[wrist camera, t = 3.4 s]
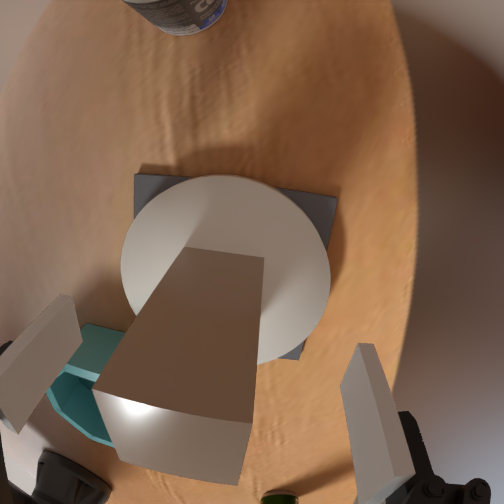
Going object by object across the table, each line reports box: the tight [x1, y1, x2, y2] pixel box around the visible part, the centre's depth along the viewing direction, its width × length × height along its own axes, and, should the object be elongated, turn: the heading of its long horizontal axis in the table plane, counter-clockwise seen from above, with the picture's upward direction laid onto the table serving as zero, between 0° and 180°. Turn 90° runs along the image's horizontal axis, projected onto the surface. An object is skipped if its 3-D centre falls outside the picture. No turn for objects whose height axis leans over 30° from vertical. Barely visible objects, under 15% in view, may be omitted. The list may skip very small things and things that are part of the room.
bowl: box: [46, 323, 125, 447], centre depth 22 cm, size 11×11×5 cm
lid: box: [92, 174, 331, 486], centre depth 14 cm, size 13×13×12 cm
